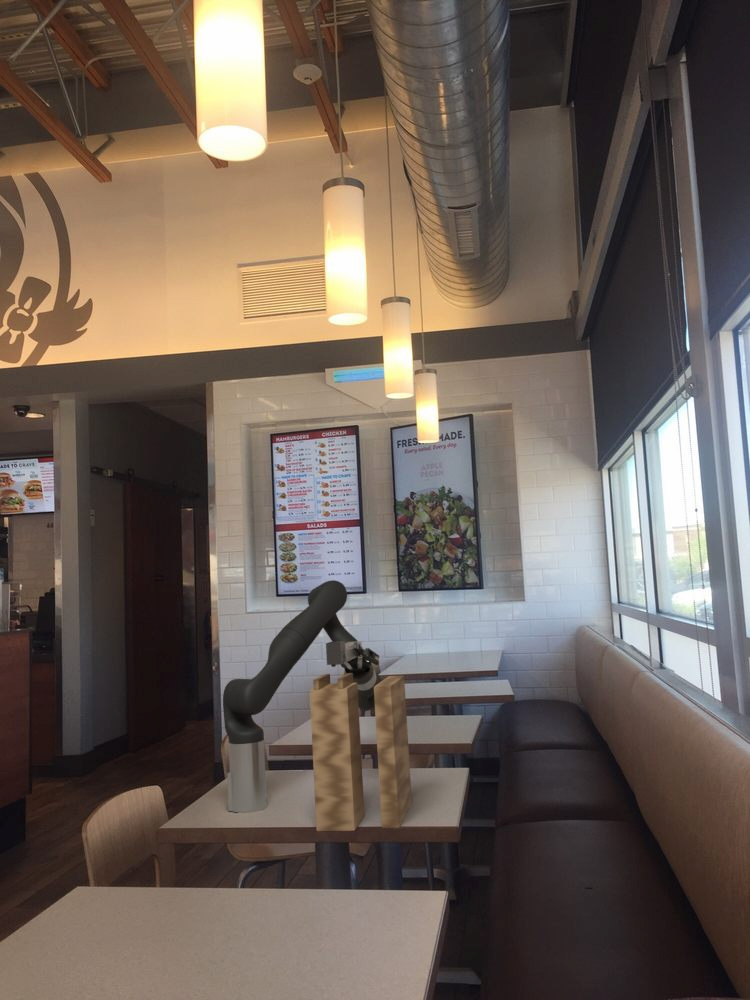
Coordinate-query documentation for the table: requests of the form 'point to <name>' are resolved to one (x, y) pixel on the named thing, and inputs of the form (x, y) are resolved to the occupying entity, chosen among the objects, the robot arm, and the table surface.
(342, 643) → the grey metal bar
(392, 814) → the stand
